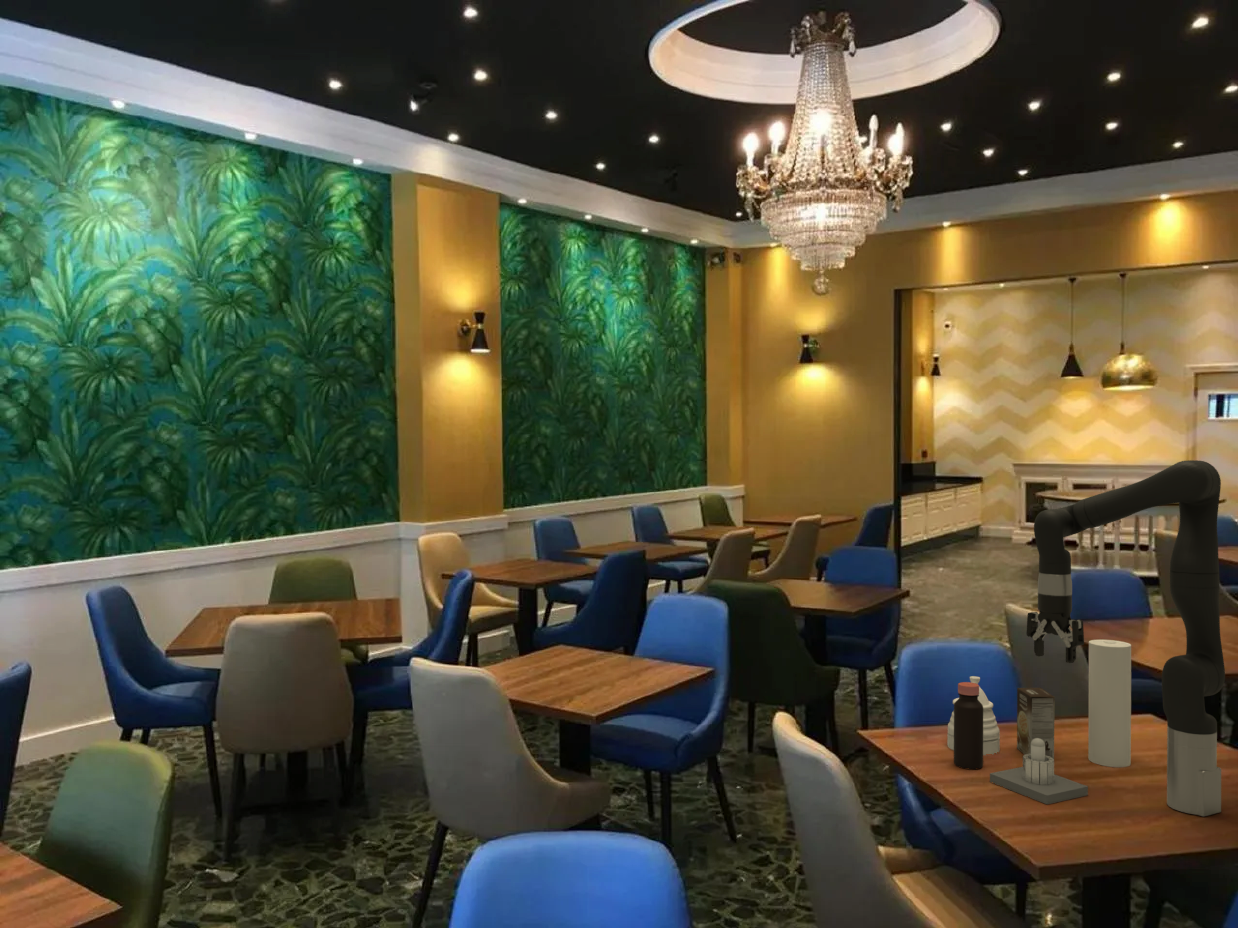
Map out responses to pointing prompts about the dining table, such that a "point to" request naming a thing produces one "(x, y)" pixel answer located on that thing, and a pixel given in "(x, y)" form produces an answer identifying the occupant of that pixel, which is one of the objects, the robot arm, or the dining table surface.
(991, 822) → the dining table surface
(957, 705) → the bottle
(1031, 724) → the coffee box
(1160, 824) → the dining table surface
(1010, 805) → the dining table surface
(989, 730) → the honey pot
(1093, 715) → the cylinder container
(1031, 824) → the dining table surface
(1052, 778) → the ring
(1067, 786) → the piston block
